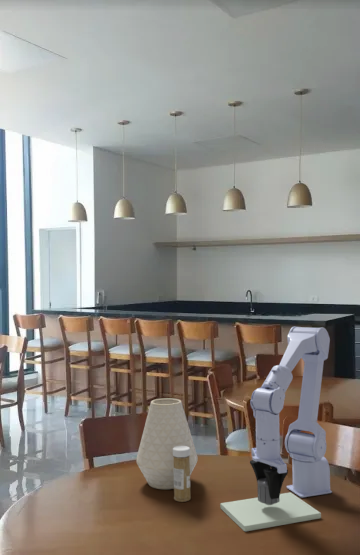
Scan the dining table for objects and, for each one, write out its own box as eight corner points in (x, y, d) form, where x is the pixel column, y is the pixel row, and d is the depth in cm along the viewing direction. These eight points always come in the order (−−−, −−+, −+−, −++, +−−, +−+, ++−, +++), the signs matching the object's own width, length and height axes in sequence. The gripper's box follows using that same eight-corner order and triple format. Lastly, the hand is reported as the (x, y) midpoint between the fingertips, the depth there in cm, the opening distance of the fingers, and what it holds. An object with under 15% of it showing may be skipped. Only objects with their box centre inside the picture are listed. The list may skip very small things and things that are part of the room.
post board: (290, 496, 142) (290, 478, 142) (321, 518, 128) (320, 498, 128) (220, 508, 135) (220, 489, 135) (244, 531, 122) (244, 510, 122)
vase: (209, 478, 156) (207, 398, 157) (176, 498, 142) (175, 410, 142) (159, 468, 166) (158, 393, 166) (124, 486, 151) (122, 404, 152)
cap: (273, 494, 135) (272, 476, 135) (283, 502, 130) (283, 483, 130) (254, 497, 133) (253, 479, 133) (264, 505, 128) (263, 486, 129)
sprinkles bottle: (194, 499, 141) (193, 448, 141) (179, 504, 138) (178, 451, 139) (184, 494, 145) (183, 444, 145) (170, 498, 142) (169, 447, 142)
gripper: (240, 432, 138) (241, 485, 137) (267, 447, 124) (268, 507, 124) (265, 429, 140) (266, 482, 140) (294, 444, 126) (295, 502, 126)
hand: (268, 493), depth 132 cm, fingers closed on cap, 5 cm apart
